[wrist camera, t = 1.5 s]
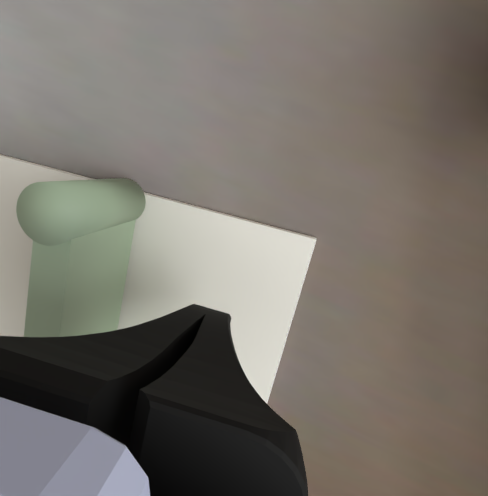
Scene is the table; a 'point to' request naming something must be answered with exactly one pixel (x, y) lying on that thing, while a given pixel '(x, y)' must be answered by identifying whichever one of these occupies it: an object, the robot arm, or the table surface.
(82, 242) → the hinged fence section
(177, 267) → the card
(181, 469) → the robot arm
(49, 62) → the table surface
